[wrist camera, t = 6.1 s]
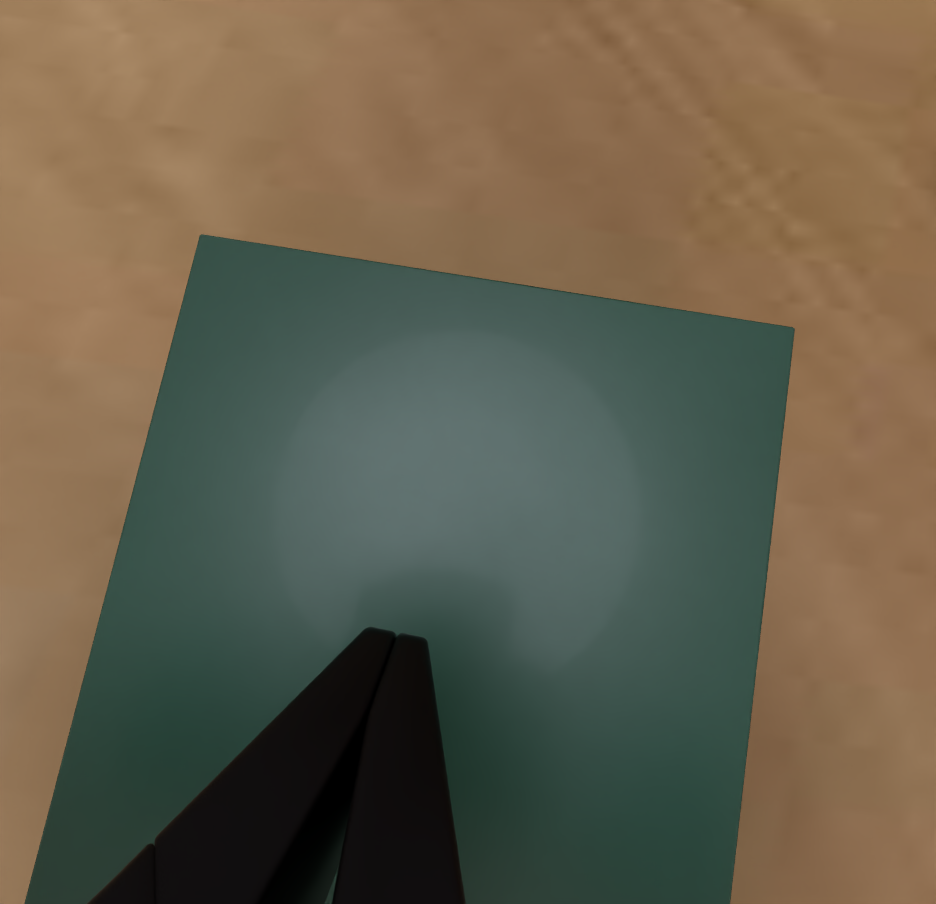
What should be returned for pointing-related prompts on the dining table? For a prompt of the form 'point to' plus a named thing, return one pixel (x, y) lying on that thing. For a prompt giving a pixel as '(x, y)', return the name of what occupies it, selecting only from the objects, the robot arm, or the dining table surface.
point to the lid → (445, 564)
